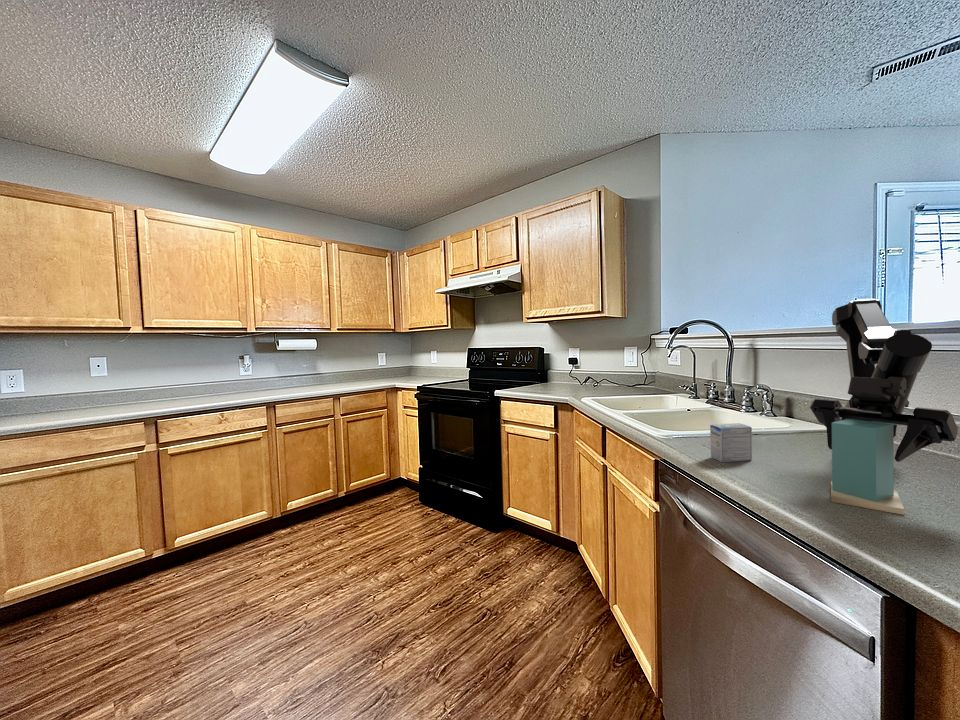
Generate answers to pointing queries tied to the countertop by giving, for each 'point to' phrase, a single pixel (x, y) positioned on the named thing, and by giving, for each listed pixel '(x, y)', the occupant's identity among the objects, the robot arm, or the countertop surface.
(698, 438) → the countertop surface
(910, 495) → the countertop surface
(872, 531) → the countertop surface
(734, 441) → the medicine box
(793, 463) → the countertop surface
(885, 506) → the peg stand
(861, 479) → the teal tall cube
